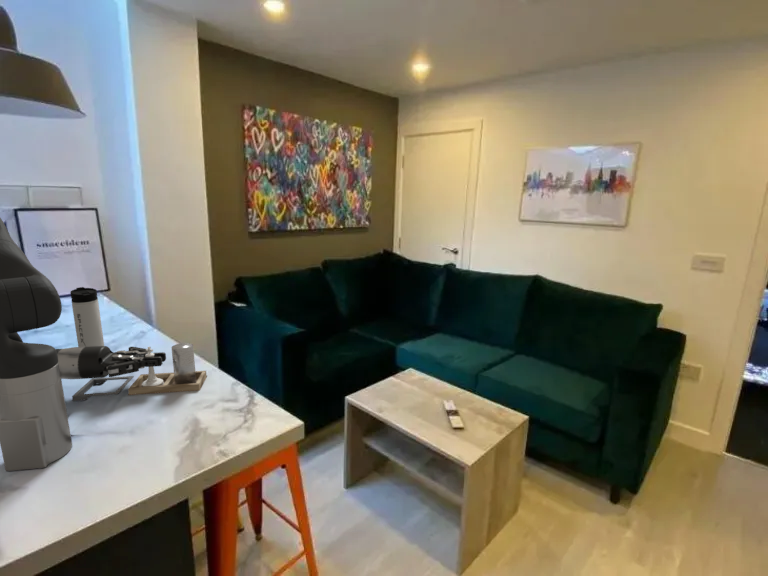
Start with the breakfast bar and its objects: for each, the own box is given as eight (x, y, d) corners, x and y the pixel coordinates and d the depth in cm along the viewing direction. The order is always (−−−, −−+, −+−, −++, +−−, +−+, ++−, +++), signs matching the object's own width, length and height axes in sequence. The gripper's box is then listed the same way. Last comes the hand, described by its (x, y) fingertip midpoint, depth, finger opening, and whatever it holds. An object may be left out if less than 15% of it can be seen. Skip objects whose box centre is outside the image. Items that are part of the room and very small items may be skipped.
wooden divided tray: (200, 394, 100) (199, 384, 99) (128, 398, 97) (126, 389, 96) (207, 379, 108) (207, 370, 107) (141, 383, 105) (140, 374, 104)
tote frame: (118, 397, 97) (117, 393, 97) (72, 401, 95) (71, 396, 95) (133, 380, 106) (133, 376, 106) (92, 382, 104) (92, 378, 104)
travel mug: (100, 348, 127) (92, 285, 123) (108, 353, 123) (99, 289, 119) (76, 353, 123) (66, 288, 118) (83, 359, 119) (73, 292, 114)
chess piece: (153, 390, 99) (150, 351, 96) (136, 388, 100) (132, 349, 97) (168, 382, 103) (165, 344, 101) (151, 379, 104) (148, 342, 102)
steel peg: (193, 387, 101) (190, 349, 99) (172, 388, 100) (168, 350, 98) (198, 379, 106) (195, 342, 103) (178, 380, 105) (174, 343, 103)
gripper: (66, 359, 90) (152, 355, 93) (96, 337, 103) (170, 335, 106) (71, 390, 91) (155, 385, 95) (100, 365, 105) (173, 362, 108)
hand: (163, 359), depth 101 cm, fingers closed
